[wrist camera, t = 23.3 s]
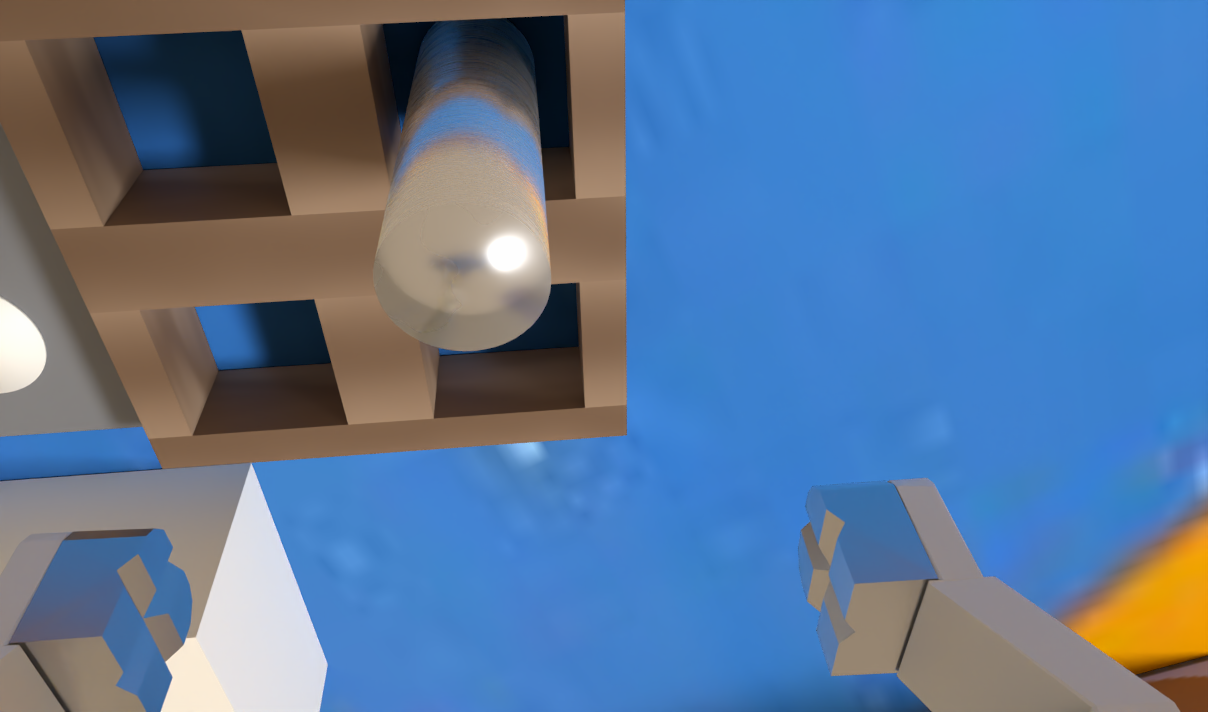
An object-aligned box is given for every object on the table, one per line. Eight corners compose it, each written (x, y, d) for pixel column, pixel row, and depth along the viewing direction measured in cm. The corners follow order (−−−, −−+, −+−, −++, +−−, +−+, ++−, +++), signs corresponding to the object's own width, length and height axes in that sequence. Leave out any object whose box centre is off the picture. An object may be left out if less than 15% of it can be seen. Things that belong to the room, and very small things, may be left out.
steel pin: (532, 126, 24) (547, 352, 16) (419, 120, 24) (379, 349, 16) (536, 12, 22) (555, 206, 14) (415, 5, 22) (366, 200, 14)
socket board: (617, 373, 30) (626, 435, 27) (190, 402, 29) (162, 468, 27) (611, -82, 21) (624, -49, 19) (0, -57, 20) (-66, -20, 18)
